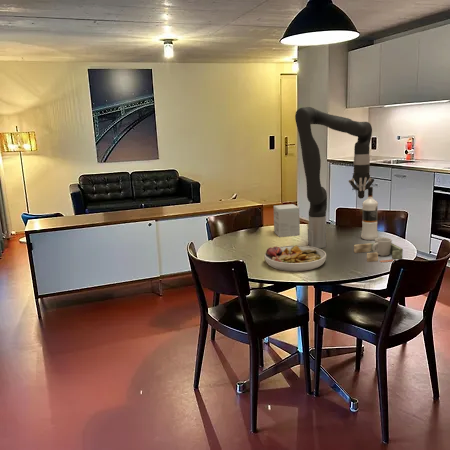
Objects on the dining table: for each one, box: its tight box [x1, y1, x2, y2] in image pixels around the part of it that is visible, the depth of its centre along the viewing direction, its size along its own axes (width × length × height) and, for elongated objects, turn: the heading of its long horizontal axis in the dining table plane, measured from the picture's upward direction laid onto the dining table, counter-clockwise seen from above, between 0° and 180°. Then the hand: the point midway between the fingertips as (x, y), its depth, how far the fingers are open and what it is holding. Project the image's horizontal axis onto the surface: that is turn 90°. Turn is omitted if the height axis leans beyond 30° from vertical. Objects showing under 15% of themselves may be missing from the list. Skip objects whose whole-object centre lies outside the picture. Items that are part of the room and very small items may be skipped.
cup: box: [372, 237, 393, 257], centre depth 220 cm, size 11×8×8 cm
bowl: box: [264, 245, 327, 272], centre depth 216 cm, size 30×30×8 cm
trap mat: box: [379, 258, 394, 263], centre depth 211 cm, size 7×2×1 cm, turn 97°
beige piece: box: [353, 242, 403, 263], centre depth 220 cm, size 18×17×5 cm
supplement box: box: [273, 203, 301, 238], centre depth 271 cm, size 13×13×18 cm
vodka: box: [360, 186, 379, 241], centre depth 249 cm, size 9×9×30 cm
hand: (361, 198), depth 219 cm, fingers closed
